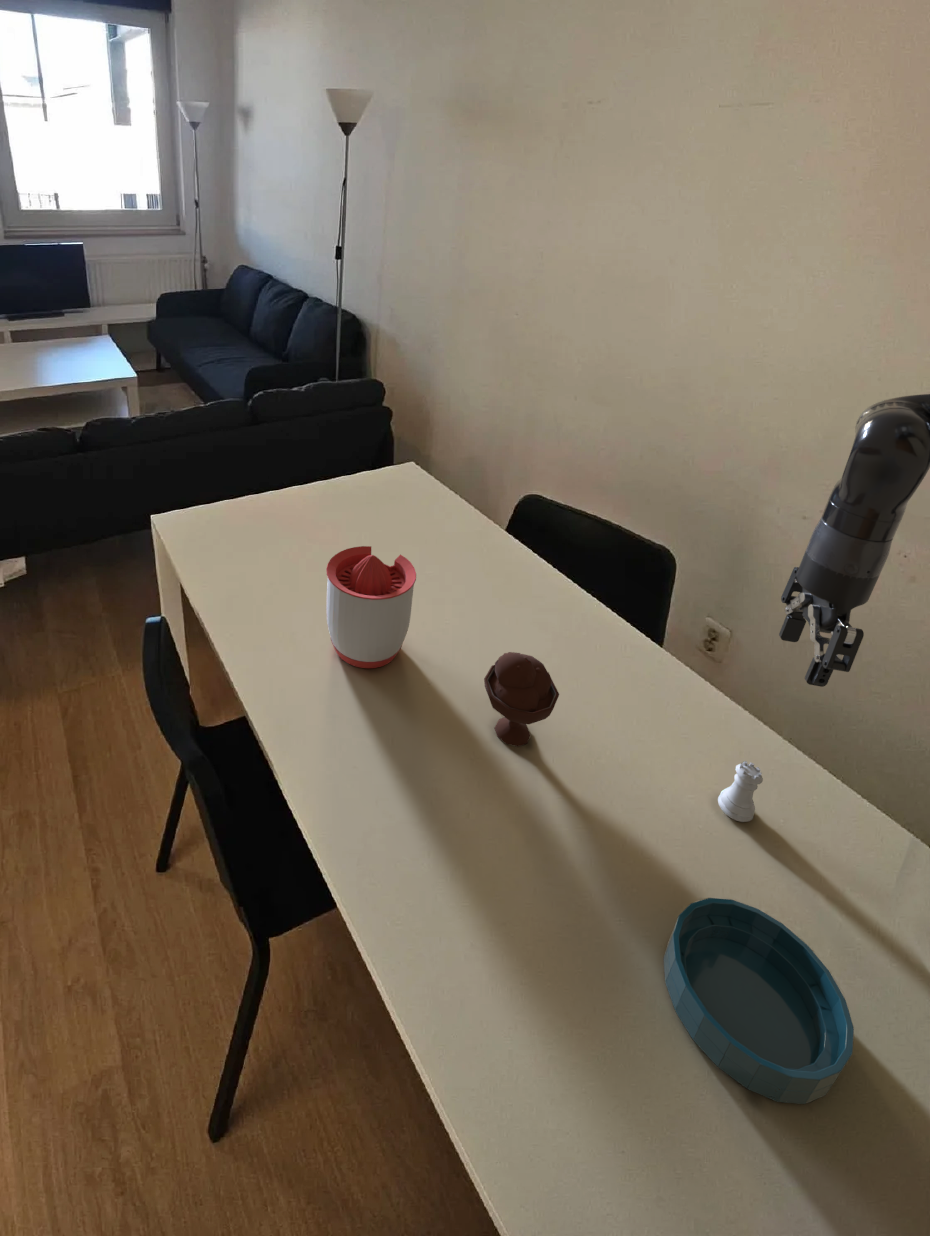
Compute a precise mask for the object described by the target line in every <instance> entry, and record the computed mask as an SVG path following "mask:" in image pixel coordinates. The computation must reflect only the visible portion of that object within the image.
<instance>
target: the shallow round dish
mask: <svg viewBox="0 0 930 1236" xmlns="http://www.w3.org/2000/svg"><path fill="white" fill-rule="evenodd" d="M674 923H675V924H674V926H673V929H672V931H671V934H670V936H669V938H668V942H667V945H666V948H665V952H664V954H663V971H664V972H663V973H664V982H665V986H666V989H667V991H668V995H669V997H670V1001H671V1003H672V1005H673V1009H674V1011H675V1013H676V1015H677V1017H678V1018H679V1020H680V1021H681V1023H682V1024H683V1026H684V1028H685V1029H686V1031H687V1032H688V1035H689V1036H690V1038H691V1039H692V1040H693V1042H694V1043H695V1044H696V1045H697V1046H698V1047H699V1048H700V1050H702V1052H703V1053H704V1054H705V1055H706V1056H707V1057H708V1058H709V1059H710V1060H711V1062H713V1064H714V1065H715V1066H716V1067H717V1068H719V1069H720V1070H721V1071H723V1072H724V1073H725V1074H726V1075H728V1076H729V1077H731V1078H732V1079H733V1080H734V1081H736V1082H738V1083H739V1084H740V1085H741V1086H743V1087H744V1088H745V1089H747V1090H749V1091H751V1092H753V1093H756V1094H758V1095H760V1096H763V1097H765V1098H767V1099H769V1100H772V1101H774V1102H777V1103H785V1104H797V1105H798V1104H799V1105H806V1104H808V1103H811V1102H813V1101H816V1100H818V1099H820V1098H822V1097H825V1096H826V1095H827V1094H828V1093H829V1091H830V1089H831V1088H832V1086H833V1085H834V1083H835V1081H836V1080H837V1079H838V1077H839V1075H840V1074H841V1073H842V1071H843V1069H844V1068H845V1066H846V1065H847V1063H848V1062H849V1060H850V1059H851V1057H852V1056H853V1053H854V1035H855V1034H854V1033H855V1026H854V1023H853V1021H852V1017H851V1013H850V1011H849V1007H848V1004H847V1000H846V997H845V996H844V994H843V993H842V991H841V989H840V987H839V985H838V984H837V982H836V980H835V978H834V977H833V975H832V973H831V971H830V970H829V969H828V968H827V966H826V965H825V964H824V963H823V962H822V960H821V959H820V958H819V957H818V955H817V954H816V953H815V952H814V951H813V949H811V947H810V946H809V945H808V944H807V943H806V942H804V940H802V939H801V938H800V937H799V936H798V935H796V934H795V933H794V932H793V931H792V930H791V929H790V928H788V927H787V926H786V925H785V924H784V923H782V922H781V921H779V920H778V919H776V918H775V917H772V916H771V915H769V914H768V913H765V912H764V911H762V910H761V909H759V908H757V907H754V906H752V905H748V904H746V903H743V902H741V901H737V900H734V899H730V898H717V897H707V898H704V899H700V900H697V901H694V902H691V903H690V904H689V905H687V906H686V908H685V909H684V910H682V911H681V913H679V914H678V916H677V918H676V921H675V922H674Z"/></svg>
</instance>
